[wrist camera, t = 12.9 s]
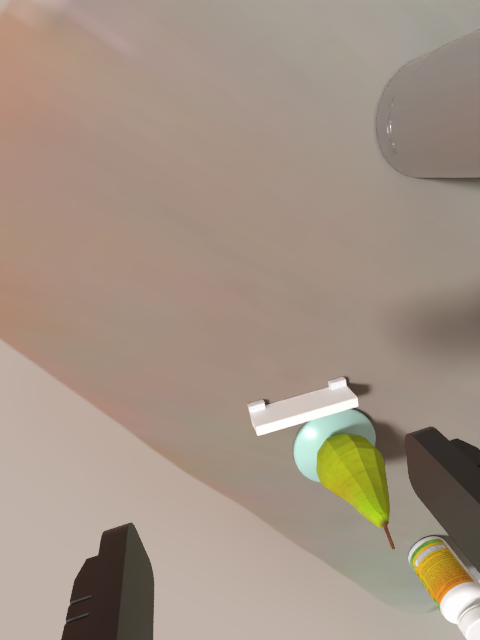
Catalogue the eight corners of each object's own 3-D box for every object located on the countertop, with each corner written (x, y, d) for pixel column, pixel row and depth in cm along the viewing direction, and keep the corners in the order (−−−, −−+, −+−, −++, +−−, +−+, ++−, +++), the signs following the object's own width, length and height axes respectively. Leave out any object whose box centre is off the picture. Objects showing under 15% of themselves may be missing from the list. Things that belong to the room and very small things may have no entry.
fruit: (365, 415, 42) (440, 501, 30) (364, 464, 44) (434, 560, 33) (306, 427, 41) (361, 519, 30) (308, 476, 43) (360, 579, 32)
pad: (369, 396, 42) (372, 399, 41) (376, 465, 45) (378, 468, 44) (286, 420, 41) (288, 424, 40) (299, 488, 44) (301, 492, 43)
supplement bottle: (398, 559, 51) (450, 641, 42) (427, 528, 50) (486, 605, 41) (425, 572, 52) (480, 653, 43) (453, 543, 52) (515, 620, 43)
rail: (343, 376, 40) (356, 391, 38) (345, 396, 41) (359, 412, 38) (247, 403, 39) (254, 420, 36) (252, 424, 40) (258, 442, 37)
